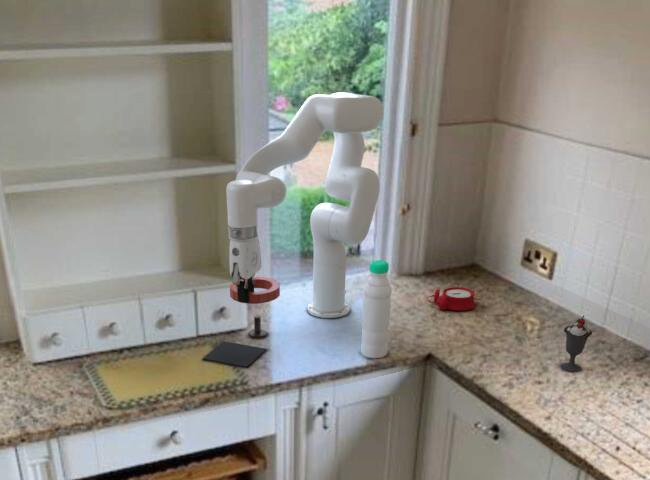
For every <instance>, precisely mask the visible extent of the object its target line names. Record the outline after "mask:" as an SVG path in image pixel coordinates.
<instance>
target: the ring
mask: <svg viewBox="0 0 650 480" xmlns="http://www.w3.org/2000/svg"><path fill="white" fill-rule="evenodd" d="M254 278H255V282H254V289H263V290H260V291H254V292H249V299H250V301H249V303H245V302H239V301H238V293H237V287H236V284H233V282H231V283H230V285H229V296H230V298H231V299H232V300H233V301H235V302H238V303H241V304H247V305H248V304H249V305H251V304H252V305H256V304H258V305H259V304H264V303H269V302H272V301H275V300H277V299H278V298H280V295H281V285H280V284H281V283H280V282H279V281H278V280H276V279H274V278H271V277H265V276H254ZM240 280H241V281H243V280H242V279H240ZM243 282H244V281H243Z"/></svg>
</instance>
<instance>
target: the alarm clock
mask: <svg viewBox="0 0 650 480" xmlns="http://www.w3.org/2000/svg"><path fill="white" fill-rule="evenodd" d="M440 292H441V290H440V288H437V289H435V291H434V294H432V295H430V296H427V297H426V300H427V301H428V303H432V304H436V306H437V308H438V309H439V310H440V311H445V310H450V311H457V312H458V311H459V312H460V311H468V310H469V311H470V310H472V309H474V308H475V306H476V304H477V303H476V302H475V300H477V301H482V299H481V298H476V297H475V290H472V289H470V288H467V287H459V286H452V287H447V288H445V289H444V290H443V291H442V295H440ZM432 297H433V301H432V300H429V298H432Z"/></svg>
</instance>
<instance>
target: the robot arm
mask: <svg viewBox="0 0 650 480" xmlns="http://www.w3.org/2000/svg"><path fill="white" fill-rule="evenodd" d="M383 118H384V105H383V103H382V101H381V100H380V99H379V98H377V97H376V96H373V95H367V94H360V93H359V94H358V93H352V92H335V93H334V92H333V93H331V94H323V93H321V94H319V93H317V94H313V95H311V96H309V97H308V98H307V99H306V100H305V101H304V102H303V104H302V105H301V107H300V108H299V110H298V111H297V112H296V114H295V116H294V117H293V118H292V120H291V121H290V123H289V124H288V125H287V126H286V128H285V129H284V131H283V132H282V133H281V135H280V136H278V137H276V138H275V139H272V140H271V141H269V142H268V143H266V144H265V145H264V146H262V147H261V148H259V149H258V150H256V151H255V152H254V153H252V154H251V156H250V157H249V158H248V159H247V160H246V161H245V163H244V164H243V166H242V167H241V168H240V170H239V172H238V174H237V176H236V178H235V180H232V181H229V182H228V183H227V185H226V188H225V189H226V191H225V193H226V211H227V213H226V214H227V228H228V229H227V230H228V231H227V232H228V239H229V258H228V259H229V261H228V262H229V274H230V277H231V278H232V283H233V284H236V287H237V293H238V301H239V302H238V301H237V302H238V303H240V302H245V303H244V304H247V303H249V301H250V299H249V292H255V288H254V282H255V278H254V277H256V274H257V273H259V271H260V270H261V269H262V252H261V244H260V243H261V242H260V237H259V224H258V223H259V222H258V210H260V209H269V208H271V209H272V208H275V207H277V206H280V205H281V204H282V203H283V202H284V200H286V197H287V186H286V184H285V182H284V181H283V180H282V179H280V178H279V177H276V176H273V175H269V174H270V173H271V172H272V171H274V170H276V169H278V168H281V167H283V166H286V165H291V164H295V163H298V162H301V161H303V160H305V159H306V158H308V157H309V155H310V154H311V152H312V151H313V149H314V148H315V146H317V143H318V142H319V140H321V138H322V136H323V135H324V133H326V132H332V134H333V139H334V141H333V143H334V145H333V150H332V154H331V158H330V162H329V166H328V169H327V174H326V178H325V182H324V191H325V193H326V194H327V195H328V196H329V197H331V198H333V199H337V200H340V201H344V202H349V203H350V205H349V206H346V205H343V204H338V203H334V202H322V203H319V204H317V205H316V206H315V207H314V208H313V210H312V211H311V214H310V219H309V224H310V230H311V236H312V245H313V260H312V302H310V303H309V304H308V305H307V313H309V314H310V315H311V316H314V317H317V318H322V319H337V318H341V317H344V316H347V315H348V314H349V313H350V311H351V310H350V308H351V307H350V305H349V304H348V303H346V294H347V290H346V278H347V276H346V273H347V249H346V245H345V244H348V245H354V246H355V245H359V244H361V243H363V242H364V241H365V239H366V238H367V236H368V234H369V232H370V229H371V225H372V222H373V218H374V214H375V211H376V207H377V203H378V200H379V195H380V189H381V182H380V178H379V177H380V176H379V175H378V174H377V172H376V170H375V171H374V169H371V168H369V167H364V166H362V164H363V160H364V156H365V149H366V147H365V140H364V135H363V133H366V132H373V131H374V130H376V129H377V128H378V127H379V126H380V124H381V123H382V121H383ZM240 279H242V280H243V281H244V282H243V281H241V280H240Z"/></svg>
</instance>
